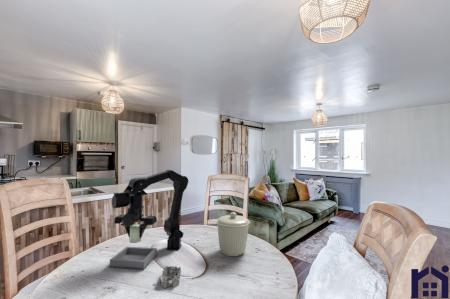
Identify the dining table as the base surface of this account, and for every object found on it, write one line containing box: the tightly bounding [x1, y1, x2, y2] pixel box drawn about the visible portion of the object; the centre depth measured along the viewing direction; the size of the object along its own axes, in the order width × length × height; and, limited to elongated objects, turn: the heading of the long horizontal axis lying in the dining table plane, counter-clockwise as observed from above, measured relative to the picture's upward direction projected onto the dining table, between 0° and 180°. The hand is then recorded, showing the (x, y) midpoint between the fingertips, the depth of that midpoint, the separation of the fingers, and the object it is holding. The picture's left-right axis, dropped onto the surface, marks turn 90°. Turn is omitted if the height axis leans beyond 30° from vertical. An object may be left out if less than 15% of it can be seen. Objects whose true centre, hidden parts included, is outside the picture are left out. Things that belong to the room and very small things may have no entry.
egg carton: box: [160, 265, 182, 289], centre depth 89 cm, size 11×8×4 cm
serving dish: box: [109, 246, 158, 271], centre depth 104 cm, size 16×14×4 cm
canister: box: [215, 211, 251, 257], centre depth 116 cm, size 18×18×21 cm
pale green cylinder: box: [129, 224, 142, 244], centre depth 104 cm, size 5×5×7 cm
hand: (135, 237), depth 104 cm, fingers closed on pale green cylinder, 5 cm apart
